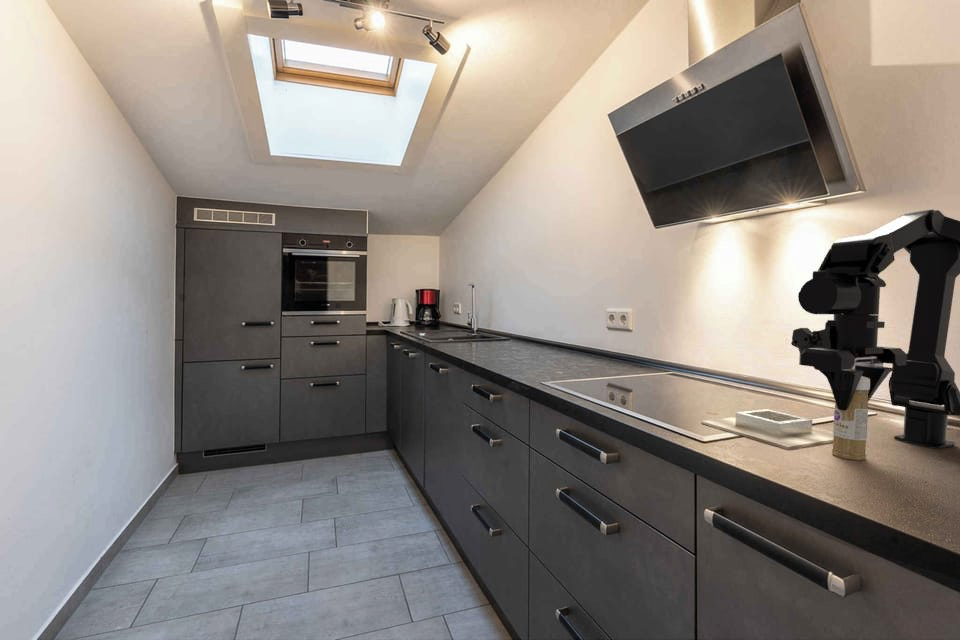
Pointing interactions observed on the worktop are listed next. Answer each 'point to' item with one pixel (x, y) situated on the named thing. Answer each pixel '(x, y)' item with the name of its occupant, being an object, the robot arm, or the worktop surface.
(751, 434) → the birch board
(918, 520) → the worktop surface
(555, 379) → the worktop surface
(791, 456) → the worktop surface
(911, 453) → the worktop surface
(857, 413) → the sprinkles bottle
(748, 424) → the socket collar
